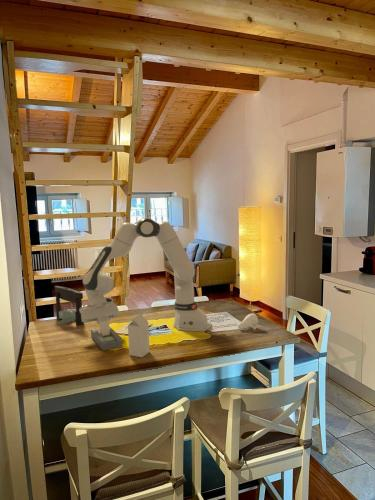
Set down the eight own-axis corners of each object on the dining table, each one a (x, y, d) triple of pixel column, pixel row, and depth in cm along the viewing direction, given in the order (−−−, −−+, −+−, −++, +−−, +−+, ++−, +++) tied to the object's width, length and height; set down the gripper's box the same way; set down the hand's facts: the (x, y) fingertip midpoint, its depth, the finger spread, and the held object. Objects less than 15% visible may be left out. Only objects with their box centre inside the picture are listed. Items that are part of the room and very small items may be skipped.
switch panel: (91, 336, 196) (90, 329, 196) (109, 333, 201) (108, 325, 200) (102, 350, 177) (102, 341, 177) (122, 346, 182) (121, 337, 181)
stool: (65, 282, 240) (93, 289, 218) (67, 313, 242) (95, 322, 221) (43, 287, 228) (70, 294, 206) (45, 318, 231) (72, 329, 209)
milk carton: (149, 352, 174) (148, 314, 171) (141, 357, 167) (140, 318, 165) (137, 349, 177) (135, 312, 174) (129, 355, 170) (127, 317, 168)
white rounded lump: (258, 314, 200) (240, 319, 196) (260, 328, 201) (241, 334, 197) (252, 311, 206) (234, 316, 202) (254, 325, 207) (236, 330, 203)
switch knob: (99, 333, 191) (98, 317, 190) (108, 332, 193) (107, 315, 192) (101, 336, 187) (100, 319, 186) (110, 334, 189) (109, 318, 188)
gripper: (79, 304, 192) (84, 326, 185) (115, 298, 202) (122, 319, 194) (77, 310, 196) (83, 332, 189) (113, 304, 206) (120, 325, 199)
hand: (103, 325), depth 192 cm, fingers closed, pressing on switch knob
